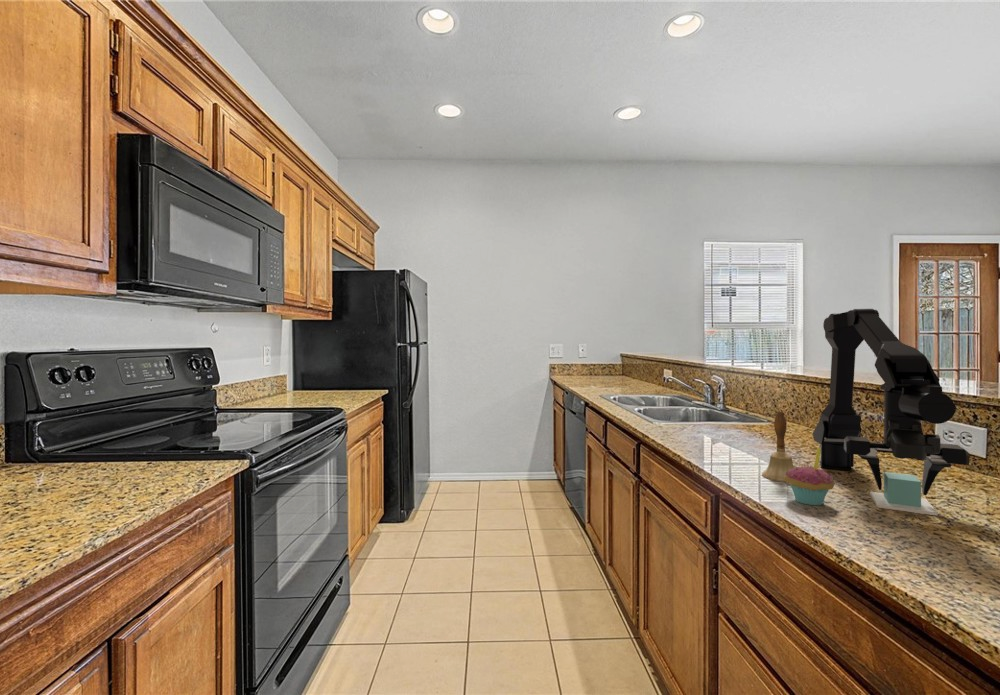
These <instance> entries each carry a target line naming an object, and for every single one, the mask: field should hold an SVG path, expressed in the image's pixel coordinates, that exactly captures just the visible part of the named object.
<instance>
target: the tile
mask: <svg viewBox="0 0 1000 695" xmlns="http://www.w3.org/2000/svg"><path fill="white" fill-rule="evenodd" d="M869 493H870V494H869V495H870V497H871V499H872V500H873V502H874V504H875V506H876V508H878V509H885V510H887V509H888V510H894V511H901V512H909V513H916V514H923V515H931V516H939V515H938V511H937V510H936V509H935V508H934V507H933V505H932V504H931V503H930V502H929V501H928V500H927V498H923V497H921V507H914V506H907V505H899V504H892V503H888V502H887V500H886V499H885V497H884V492H875V491H870V492H869Z"/></svg>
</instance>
